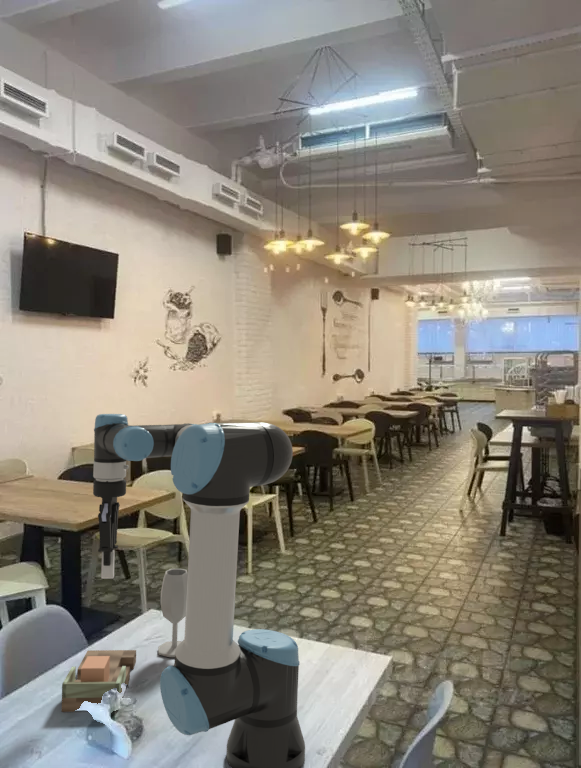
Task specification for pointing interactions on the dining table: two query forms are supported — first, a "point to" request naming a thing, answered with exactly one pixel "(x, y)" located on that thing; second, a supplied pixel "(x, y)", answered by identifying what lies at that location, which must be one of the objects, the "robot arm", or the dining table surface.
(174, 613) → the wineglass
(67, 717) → the dining table surface
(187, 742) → the dining table surface
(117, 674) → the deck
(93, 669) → the block
